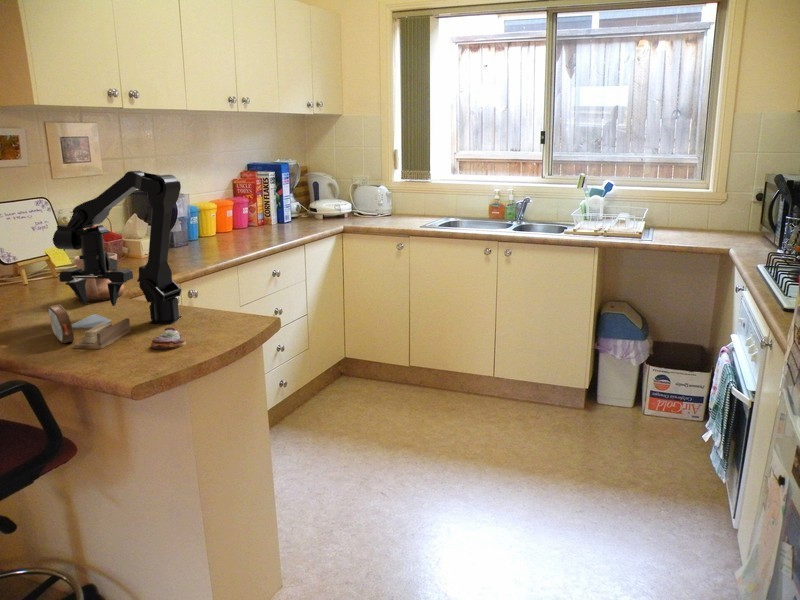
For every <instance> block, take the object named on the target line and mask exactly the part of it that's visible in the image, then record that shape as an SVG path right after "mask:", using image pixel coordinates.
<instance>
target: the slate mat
mask: <svg viewBox="0 0 800 600" xmlns="http://www.w3.org/2000/svg"><path fill="white" fill-rule="evenodd" d="M111 321H113V320H112V319H110V318H107V317H105V316H102V315H99V314H96V313H94V314H92V315H88V316H87V317H85V318H83V319H80V320H78V321H76V322H74V323H71V324H72V328H73V330H74V329H78V330H80V329H82V330H83V329H84V330H85V329H88V330H89V329H91V328H94V327H96V326H98V325H100V324H102V323H110V322H111Z"/></svg>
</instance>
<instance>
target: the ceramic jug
mask: <svg viewBox="0 0 800 600" xmlns="http://www.w3.org/2000/svg"><path fill="white" fill-rule="evenodd" d="M107 254H108V257H109V258H112V259H115V260H118V254H117V253H114V252H107ZM79 256H80V255H77V256H75V257H74V258H73V260H74V263H75V265H76V267H77V268H81V269H82V270H84V267H83V259H80V258H79ZM107 272H111V271H107ZM90 275H93V274H90ZM99 276H102V275H99ZM83 279H87V280H86V284H85V288H86V295H87V302H100V301H109V300H110V295H109V290H108V285H107V284H108V283H110V282H111V281H110V280H109V279H90V278H83ZM73 292H74V291H73ZM124 292H125V285H124V283H123V284H122V286H121V288H120V291H119V294H118V298H119V297H121V296H122V295H123V294H124ZM74 295H75V297H76V298H78V296H77V295H76V293H75V292H74ZM78 299H79V298H78Z"/></svg>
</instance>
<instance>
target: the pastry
mask: <svg viewBox="0 0 800 600" xmlns="http://www.w3.org/2000/svg"><path fill="white" fill-rule="evenodd" d="M186 344H187V342H186V340H185V339H183V338H182V334H181V333H180V331H177V329H176V327H174V326H168V327H166V328H165V329H164V331H163V332H162V333H160V335H157V336H155V338H153V339H152V341H151V344H150V345H151V348H152V349H153V350H156V351H170V350H176V349H178V348H181V347H183V346H185V345H186Z"/></svg>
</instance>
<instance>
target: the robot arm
mask: <svg viewBox="0 0 800 600" xmlns="http://www.w3.org/2000/svg"><path fill="white" fill-rule="evenodd" d="M181 188H182V186H181V181H180V180H179V179H178V178H177V177H176V176H175V175H173V174H156V173H155V174H154V173H149V172H146V171H145V172H144V171H142V170H131V171H127V172H126V173H124V175H123V176H122V177H120V179H118V180H117V181H116V182H114V183H113V184H112V185H111V186H110V187H108V188H107V189H105V190H104V191H103V192H101V193H100V194H99V195H98V196H96V197H94V198H93V199H90V200H87V201H85V202H82V203H79V204H78V205H76V206H74V208H73V209H72V215H71V217H70V219H69V221H68V223H67V224H60V225H59V224H58V225H57V224H56V225H57V226H56V231H54V234H53V237H52V243H53V245H54V247H55V248H57V250H67V251H68V250H72V251H73V250H76V251H79V250H81V255H78V256H79V258H80V259H83V267H84V270H82V269H81V268H74V267H73V268H72V267H71V268H67V269H64V270H61V271H59V274H58V279H59V282H60V283H61V282H62V283H65V285H67V286H68V287H69V288H70V289H71V290H72V291H73V292H75V293H76V295H77V296H78V300H79V301H80V302H81V303H82V305H83V306H84V307H85V306H87V305H88V301H87V295H86V288H85V284H86V280H87V279H84V278H90V279H109V280H110V281H111V282H110V283H108V284H107V285H108V290H109V295H110V299H109V300H110V303H111V307H115V306H117V305H116V304H117V302H118V298H119V297H118V294H119V291H120V288H121V286H122V284H123V285H124V283H127V282H128V281H130V280H133V279H134V275H133V273H134V272H133V271H132V270H131V268H118V265H119V264H118V263H119V261H118V259H117V260H115V259H112V258H109V257H108V254H107V253H108V251H107V252H106V251H105V244H104V237H103V235H106V234H109V233H110V230H109V229H107V227H104V225H103V224H102V223H103V222H104V221H105V220H106V219H107V218H108V216H109V215H110V212H111V210H112V209H113V208H114V207H116V205H118V204H119V203H120V202H122V201H123V200H124V199H126V198H127V197H128V196H130V195H131V194H132V193H134V192H135V191H136V190H138V191H141V192H144V193H146V194H147V196H146V197H147V199H148V200H147V201H148V202H149V204H150V207H151V219H150V220H151V221H150V233H149V242H148V244H149V245H148V256H147V257H148V258H147V262H146V264H145V265H142V266H139V267H138V278H137V283H139V284H138V285H139V286H138V287H139V289H140V290H141V291H142V292H143V295H144V298H145V300H146V302H147V303H150V304H149V316H150V321H149V324H155V325H156V324H161V325H163V324H164V325H168V324H170V325H172V324H171V323H173V324H174V323H176V322H178V321H179V320H180V319H179V318H181V317H182V316H181V315H180V312H179V310H180V309H179V302H178V297H180V296H181V293H182V288H181V287H180V285H178V284H177V283H176V282H175V281H174V279H173V275H172V269H171V267H170V265H169V263H168V259H169V244H170V235H171V234H170V233H171V223H172V222H171V221H172V211H173V209H174V208H175V205H176V204H177V202H178V200H179V196H180V193H181ZM94 226H95V227H94ZM107 271H111V272H107ZM90 274H93V275H90ZM99 275H102V276H99ZM75 293H74V294H75ZM76 295H75V296H76ZM182 318H183V317H182ZM182 318H181V319H182ZM178 319H179V320H178ZM177 320H178V321H177ZM175 321H176V322H175Z"/></svg>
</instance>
